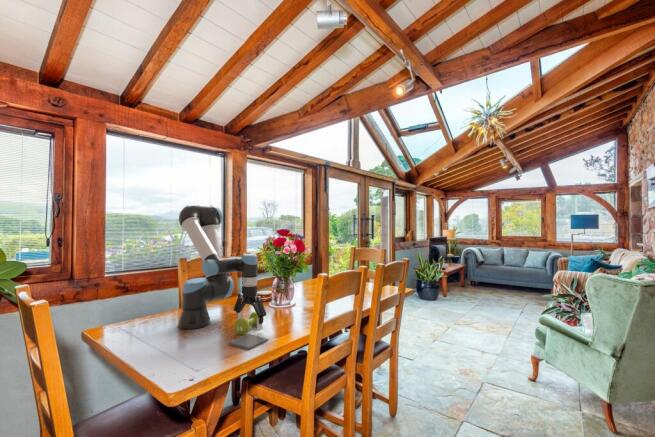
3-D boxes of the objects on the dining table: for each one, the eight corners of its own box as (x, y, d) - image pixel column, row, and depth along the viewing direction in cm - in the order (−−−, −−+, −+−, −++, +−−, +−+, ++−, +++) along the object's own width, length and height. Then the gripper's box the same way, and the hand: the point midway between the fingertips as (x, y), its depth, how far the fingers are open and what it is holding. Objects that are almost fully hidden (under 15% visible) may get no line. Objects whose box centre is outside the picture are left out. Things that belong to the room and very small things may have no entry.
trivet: (229, 344, 139) (229, 341, 139) (248, 335, 149) (248, 333, 149) (248, 350, 133) (248, 347, 133) (268, 340, 143) (268, 338, 143)
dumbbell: (246, 336, 148) (246, 321, 148) (232, 334, 151) (232, 319, 151) (265, 325, 163) (265, 311, 163) (251, 323, 166) (252, 310, 166)
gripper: (226, 283, 161) (226, 325, 160) (263, 289, 148) (262, 334, 147) (237, 281, 167) (237, 321, 167) (273, 286, 154) (273, 330, 154)
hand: (249, 327), depth 157 cm, fingers open, 13 cm apart
